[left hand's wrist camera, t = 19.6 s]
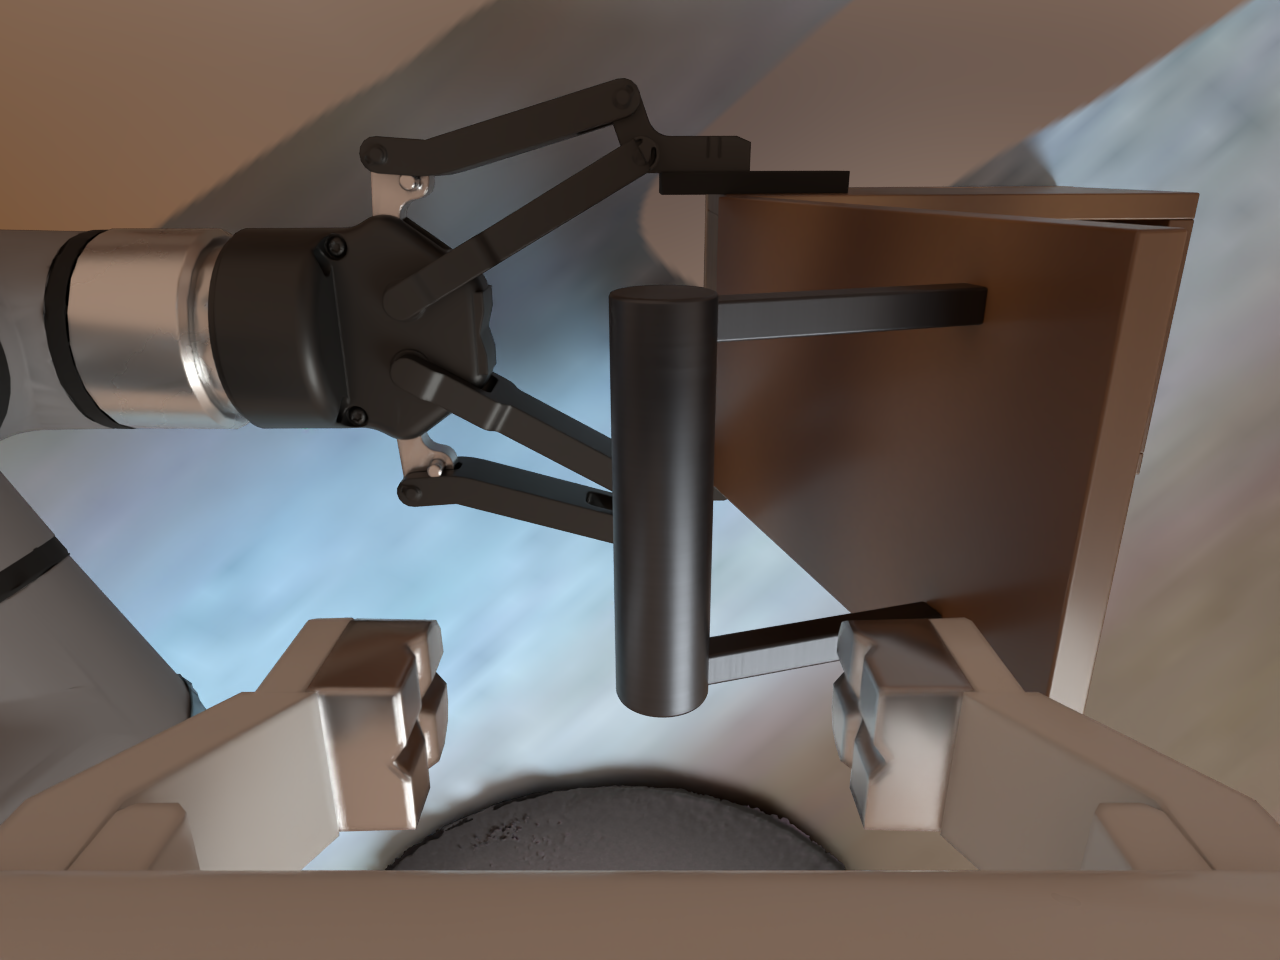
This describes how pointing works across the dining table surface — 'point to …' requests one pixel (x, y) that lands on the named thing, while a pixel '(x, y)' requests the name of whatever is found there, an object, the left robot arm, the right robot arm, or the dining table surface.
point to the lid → (885, 432)
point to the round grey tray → (618, 835)
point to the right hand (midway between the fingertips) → (828, 328)
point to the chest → (1007, 201)
